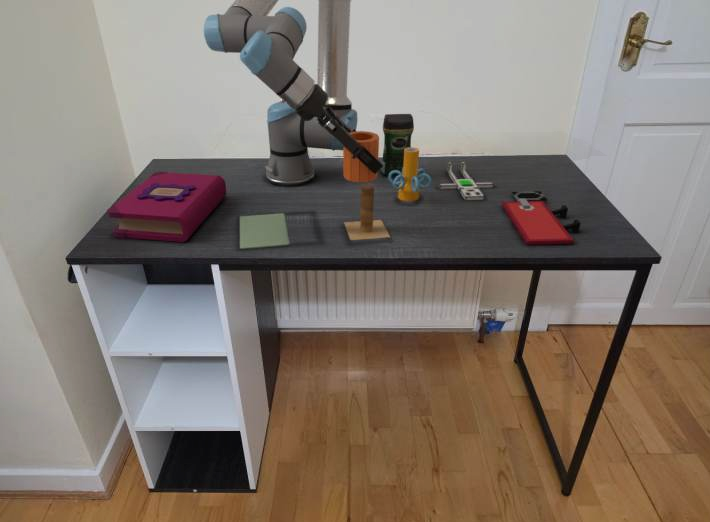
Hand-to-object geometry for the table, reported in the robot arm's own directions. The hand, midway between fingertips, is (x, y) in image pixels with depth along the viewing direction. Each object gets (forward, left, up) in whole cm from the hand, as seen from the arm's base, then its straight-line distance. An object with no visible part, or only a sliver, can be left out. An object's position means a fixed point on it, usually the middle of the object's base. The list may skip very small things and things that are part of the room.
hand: (374, 162), depth 123 cm
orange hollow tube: (0, -3, -3) cm, 5 cm away
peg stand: (+1, -2, -18) cm, 19 cm away
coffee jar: (-39, +16, -19) cm, 47 cm away
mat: (-5, -24, -18) cm, 30 cm away
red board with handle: (0, +45, -19) cm, 49 cm away
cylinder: (-17, +14, -19) cm, 29 cm away
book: (-18, -52, -19) cm, 58 cm away
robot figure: (-25, +34, -19) cm, 47 cm away
